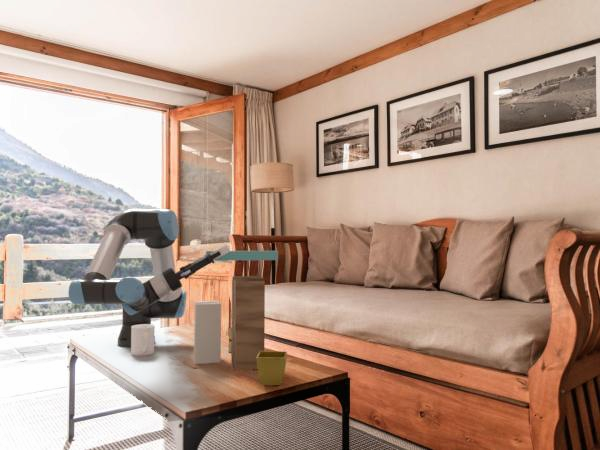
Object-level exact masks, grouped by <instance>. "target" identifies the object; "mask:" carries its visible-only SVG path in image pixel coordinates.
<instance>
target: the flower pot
mask: <svg viewBox="0 0 600 450" xmlns="http://www.w3.org/2000/svg"><path fill="white" fill-rule="evenodd" d="M287 354H288V352H287V351H280V350H279V351H275V350H274V351H270V350H269V351H265V350H264V351H260V352H259V354H258V355H257V357H256V359H257V369H258V370H257V375H258V378H259V381H260V383H261V384H262V386H265V385H266V386H273V385H279V386H280V385H281V384H282V381H283V380H284V376H285V375H284V374H285V371H286V367H287V366H286V365H287Z"/></svg>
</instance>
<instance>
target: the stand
mask: <svg viewBox="0 0 600 450" xmlns="http://www.w3.org/2000/svg"><path fill="white" fill-rule="evenodd" d="M265 283H266V281H265V277H264V276H263V277H262V276H260V275H249V276H248V275H247V276H245V275H244V276H240V275H239V276H236V275H235V276H232V279H231V327H232V345H231V353H230V354H231V355H230V356H231V358H230V359H231V361H230V362H231V367H232V368H233V370H234V371H235V372H241V370H244V371H252V370H251V369H257V359H256V357H257V355H258V354H259V352H260V351H265V324H266V323H265V321H266V320H265V317H266V316H265V311H266V310H265V309H266V307H265V305H266V304H265V303H266V301H265V298H266V296H265V295H266V294H265V292H266V291H265V289H266V288H265V287H266V286H265V285H266V284H265Z"/></svg>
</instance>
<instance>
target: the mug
mask: <svg viewBox="0 0 600 450" xmlns="http://www.w3.org/2000/svg"><path fill="white" fill-rule="evenodd" d="M154 336H155V324H152V323H151V324H139V325H134V326H132V327H131V347H130V350H131V351H130V352H131V355H132V356H135V357H136V356H137V357H142V356H143V357H144V356H149V355H153V354H154V352H155V342H154Z"/></svg>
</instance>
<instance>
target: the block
mask: <svg viewBox="0 0 600 450" xmlns="http://www.w3.org/2000/svg"><path fill="white" fill-rule="evenodd" d="M212 252H214V250H206V251H205V255H206V256H208V255H210V253H212ZM215 261H217V262H218V261H219V262H220V261H223V262H224V261H279V251H278V250H230V252H228V253H227V254H225V255H223V256H221V257H220V258H218V259H216V260H214V262H215Z"/></svg>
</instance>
